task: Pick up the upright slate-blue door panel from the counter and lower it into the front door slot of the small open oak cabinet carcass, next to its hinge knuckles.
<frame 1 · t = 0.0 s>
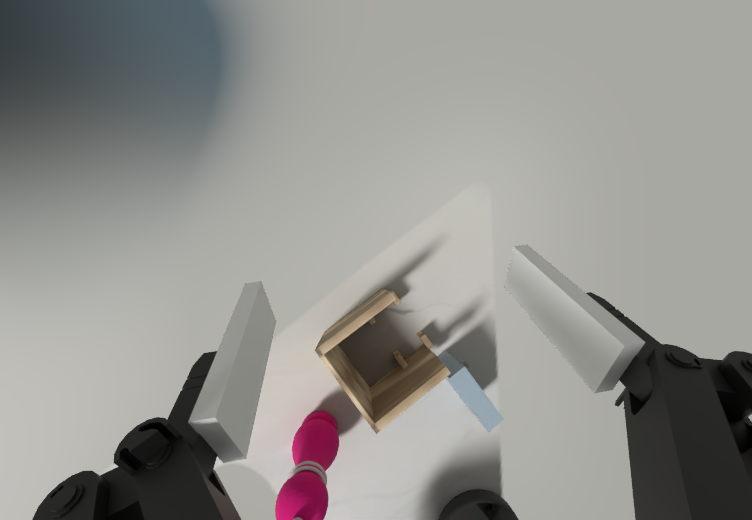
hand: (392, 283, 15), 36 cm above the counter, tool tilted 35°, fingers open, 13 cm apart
door: (455, 377, 51), on the counter
cabinet: (377, 341, 50), on the counter
pepper mill: (319, 428, 49), on the counter
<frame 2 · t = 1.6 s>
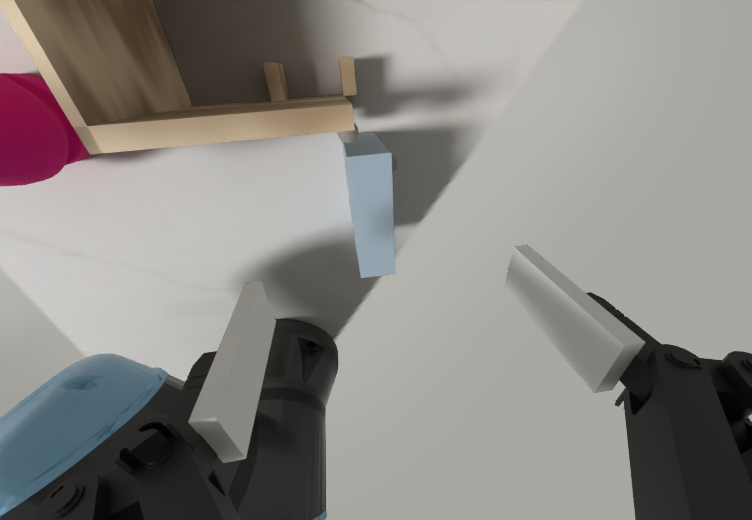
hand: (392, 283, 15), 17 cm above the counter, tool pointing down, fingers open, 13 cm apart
door: (362, 185, 29), on the counter
cabinet: (242, 9, 20), on the counter
pepper mill: (50, 120, 22), on the counter
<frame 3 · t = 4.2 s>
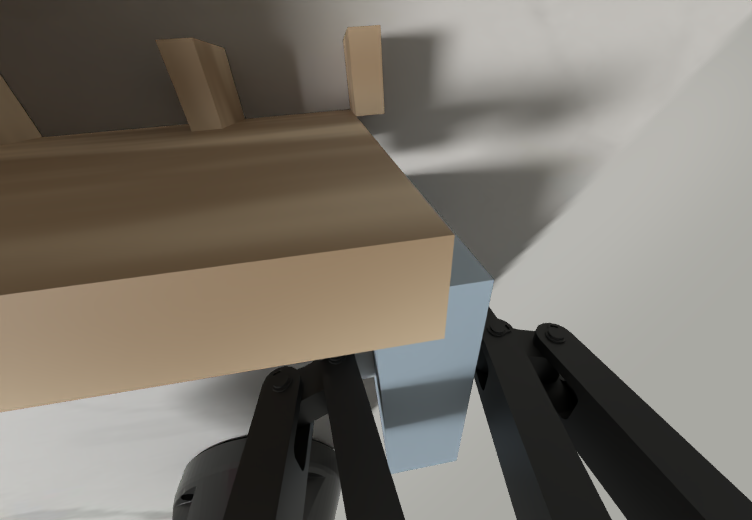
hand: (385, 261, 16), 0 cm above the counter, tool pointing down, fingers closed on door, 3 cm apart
door: (382, 260, 17), on the counter, touching gripper
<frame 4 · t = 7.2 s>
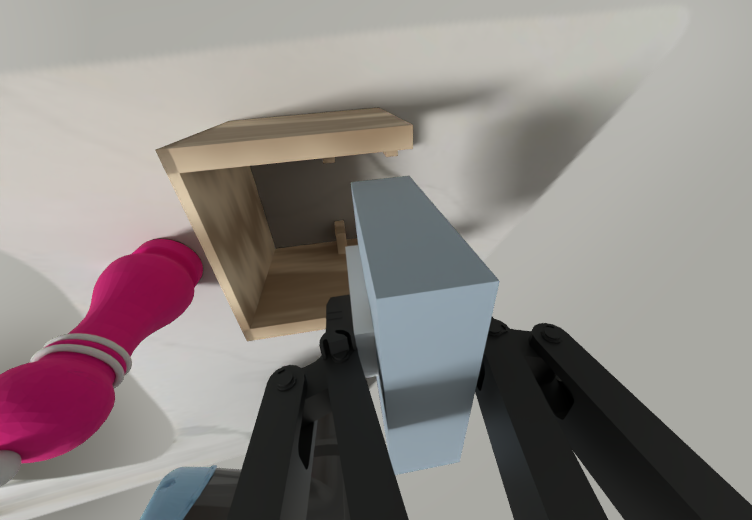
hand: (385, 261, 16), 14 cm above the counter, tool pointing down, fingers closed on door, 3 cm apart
door: (385, 261, 17), point 14 cm above the counter, touching gripper
cabinet: (319, 191, 28), on the counter
pepper mill: (172, 262, 30), on the counter
when the fingers open (2 cm above the counter, at t = 9.8 s): door drops 2 cm, on the counter.
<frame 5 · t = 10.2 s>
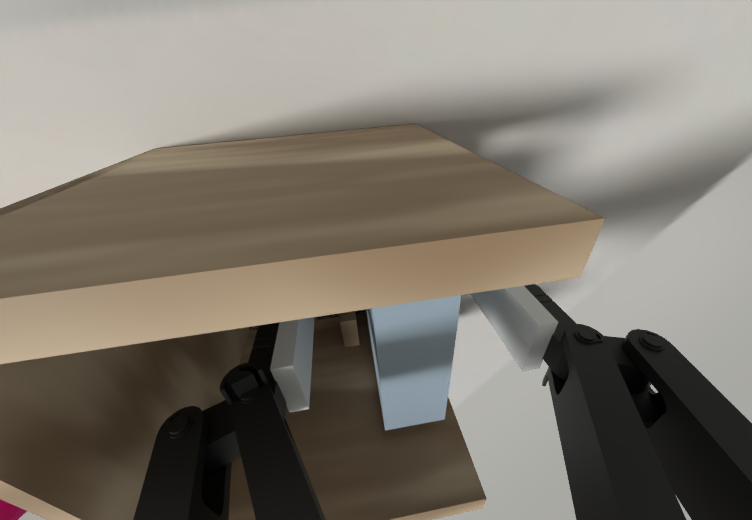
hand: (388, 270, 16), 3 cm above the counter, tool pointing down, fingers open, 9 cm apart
door: (380, 246, 18), on the counter
cabinet: (315, 253, 18), on the counter
pepper mill: (93, 353, 20), on the counter
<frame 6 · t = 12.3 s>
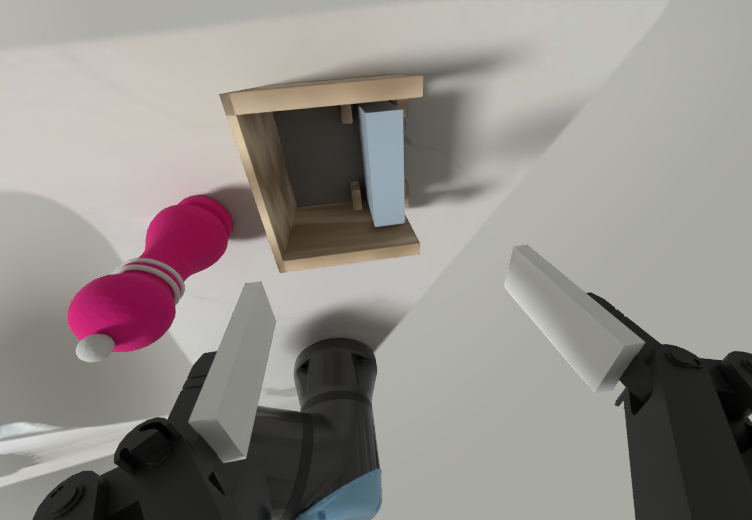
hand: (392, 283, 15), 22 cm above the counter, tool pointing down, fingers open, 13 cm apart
door: (374, 151, 32), on the counter
cabinet: (337, 153, 32), on the counter
pepper mill: (206, 219, 34), on the counter
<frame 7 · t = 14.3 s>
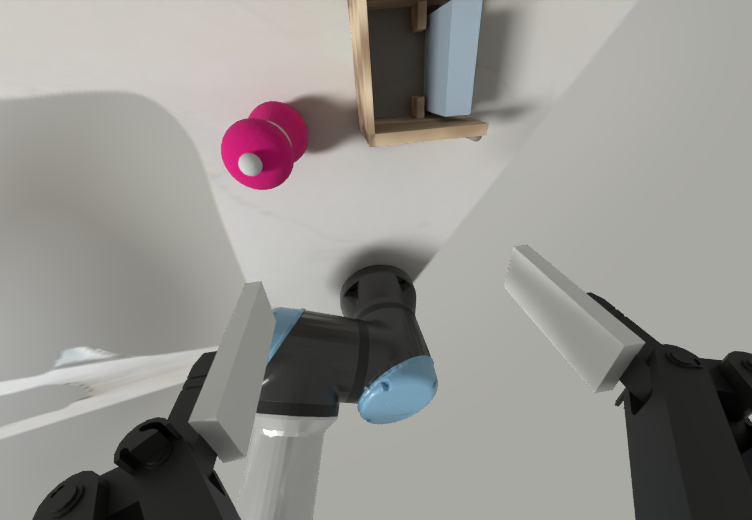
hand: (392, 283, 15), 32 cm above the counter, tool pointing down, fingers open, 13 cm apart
door: (435, 66, 37), on the counter
cabinet: (403, 67, 36), on the counter
pepper mill: (283, 129, 38), on the counter
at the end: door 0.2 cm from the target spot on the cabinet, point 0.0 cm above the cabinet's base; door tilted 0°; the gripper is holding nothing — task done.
